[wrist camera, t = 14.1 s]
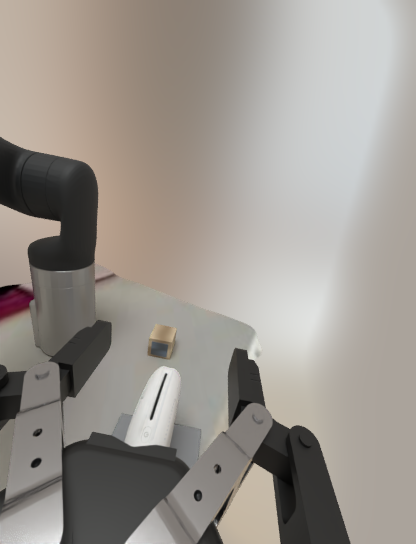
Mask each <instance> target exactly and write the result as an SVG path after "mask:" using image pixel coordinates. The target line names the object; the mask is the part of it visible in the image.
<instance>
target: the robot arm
mask: <svg viewBox="0 0 416 544" xmlns="http://www.w3.org/2000/svg"><path fill="white" fill-rule="evenodd" d="M0 204H2V205H4V206H7V207H9V208H11V209H14V210H16V211H18V212H21V213H23V214H26V215H29V216H33V217H38V218H44V219H49V220H55V221H61V231H60V236H53V237H47V238H43V239H39V240H37V241H34V242H33V243H31V244H30V245H29V247H28V258H29V265H30V271H31V279H32V285H33V293H34V300H32V301H31V302H30V304H29V305H30V312H31V318H32V325H33V332H34V338H35V345H36V346H39V347H41V349H42V350H43V352H44V353H46V354H47V355H50V356H53V357H52V358H51V359H50V360H49V361H48V362H42V363H39V364H37V365H35V366H33V367H31V368H30V369H29V370H28V371H21V372H7V369H6V367H5V366H3V365H0V430H1V429H2V428H3V427H4V425H5V424H6V423H7V422H8V421H9V420H10V419H15V418H16V420H15V427H14V435H13V442H12V450H11V457H10V465H9V472H8V480H7V487H6V488H5V489H4V490H2V491H1V492H0V544H223V542H222V539H221V537H220V535H219V532H218V530H217V526H218V525H219V523H220V521H221V520H222V518H223V516H224V514H225V513H226V511H227V509H228V508H229V506H230V504H231V502H232V500H233V498H234V496H235V494H236V493H237V491H238V489H239V488H240V486H241V484H242V483H243V481H244V479H245V478H246V476H247V474H248V473H249V471H250V469H251V468H252V466H253V464H254V463H256V464H257V465H259V466H260V467H262V468H264V469H266V470H267V471H269V472H270V473H272V474H273V482H274V490H275V499H276V508H277V516H278V525H279V533H280V542H281V544H350V541H349V537H348V534H347V531H346V528H345V524H344V521H343V518H342V515H341V512H340V508H339V505H338V502H337V499H336V496H335V493H334V489H333V486H332V483H331V480H330V476H329V473H328V470H327V467H326V464H325V460H324V457H323V454H322V451H321V448H320V444H319V442H318V440H317V439H316V437H315V436H314V434H313V433H311V431H309V430H308V429H306V428H305V427H302V426H294V427H292V428H291V429H289V428H287V427H285V426H283V425H281V424H279V423H278V422H276V421H275V420H274V419H272V416H271V414H270V413H269V411H268V410H267V409H266V407H265V402H264V396H263V391H262V385H261V380H260V374H259V368H258V366H257V365H256V363H255V361H254V360H249V359H248V354H247V350H243V349H238V348H235V349H234V352H233V355H232V359H231V362H230V366H229V371H228V409H229V428H228V430H227V431H226V432H221V433H220V434H219V435H218V437H217V438H216V439H215V440H214V441H213V443H212V444H211V445H210V446H209V447H208V449H207V450H206V451H205V452H204V453H203V454H202V456H201V457H200V458H199V459H198V460H197V462H196V463H195V464H194V465H193V466H192V467H191V469H190V468H189V467H188V465H187V464H186V463H185V462H183V461H182V460H181V459H179V458H178V457H176V452H177V449H175V448H170V447H165V446H160V445H148V446H137V447H133V446H130V445H128V444H127V443H125V442H123V441H121V440H119V439H118V438H116V437H114V436H111V435H106V434H101V433H96V432H92V434H91V436H90V438H89V439H88V440H82V441H78V442H75V443H73V444H71V445H68V446H66V447H65V436H64V415H63V401H64V400H65V399H66V397H67V396H69V397H74V398H75V397H76V395H77V394H78V393H79V391H80V390H81V388H82V387H83V386H84V384H85V383H86V381H87V380H88V379H89V377H90V376H91V374H92V373H93V371H94V370H95V369H96V367H97V366H98V364H99V363H100V362H101V360H102V359H103V357H104V356H105V355H106V353H107V352H108V350H109V348H110V345H111V322H106V321H101V320H98V321H96V312H95V262H94V260H95V259H94V254H95V247H96V238H97V237H96V235H97V208H98V186H97V180H96V177H95V174H94V172H93V170H92V169H91V168H90V166H89V165H87V164H86V163H84V162H81V161H77V160H73V159H69V158H64V157H59V156H54V155H49V154H44V153H39V152H34V151H30V150H26V149H23V148H21V147H18V146H16V145H14V144H12V143H10V142H8V141H6V140H4V139H3V138H1V137H0Z"/></svg>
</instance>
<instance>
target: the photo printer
mask: <svg viewBox="0 0 416 544" xmlns="http://www.w3.org/2000/svg"><path fill="white" fill-rule="evenodd" d="M180 390H181V377H180V374H179V373H178V372H177V371H176V370H175V369H174V368H168V367H166V366H162V367H160V368H158V369H157V370H156V371H155V372H154V373H153V374H152V376H151V377H150V378H149V380H148V382H147V384H146V386H145V388H144V390H143V393H142V395H141V397H140V399H139V402H138V404H137V406H136V409H135V411H134V414H133V417H132V419H131V422H130V425H129V427H128V430H127V435H126V438H125V441H124V442H125V443H127V444H128V445H130V446H133V447H137V446H148V445H160V446H165V447H170V443H171V438H172V433H173V428H174V423H175V417H176V412H177V406H178V401H179V396H180Z"/></svg>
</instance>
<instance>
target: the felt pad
mask: <svg viewBox="0 0 416 544" xmlns="http://www.w3.org/2000/svg"><path fill="white" fill-rule="evenodd" d="M132 417H133V415H128V414H123V413H122V414H121V416H120V418H119V421H118V423H117V425H116V427H115V429H114V432H113V434H112V436H114V437H116V438H118V439H119V440H121V441H123V442H124V441H125V438H126V435H127V430H128V427H129V425H130V422H131V419H132ZM200 435H201V429H197V428H192V427H187V426H182V425H177V424H174V428H173V433H172V438H171V443H170V448H175V449H177V452H176V457H178V458H179V459H181V460H182V461H183V462H185V463H186V464H187V465H188V467H189V468H190V469H191V467H192V466H193V465H194V464H195V463H196V462H197V460H198V455H199V445H200Z"/></svg>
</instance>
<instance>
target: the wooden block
mask: <svg viewBox="0 0 416 544" xmlns="http://www.w3.org/2000/svg"><path fill="white" fill-rule="evenodd" d="M176 330H177V328H173V327H168V326H163V325H158V324H156V325H155V327H154V329H153V331H152V333H151V335H150V337H149V345H148V355H149V356H154V357H159V358H164V359H170V356H171V353H172V350H173V347H174V343H175V336H176Z"/></svg>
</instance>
